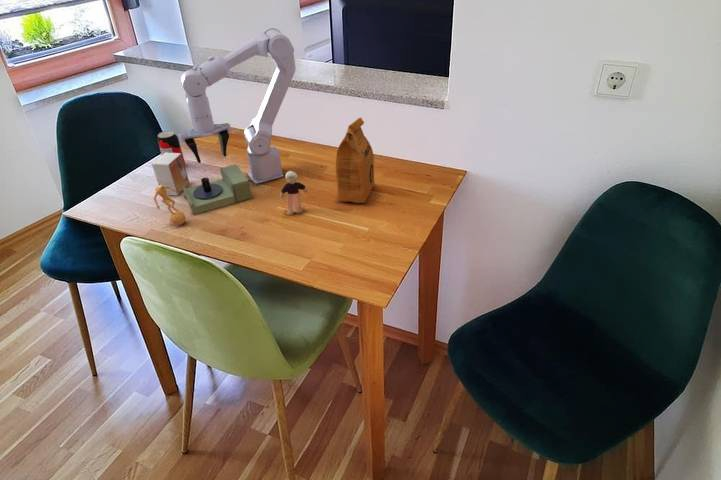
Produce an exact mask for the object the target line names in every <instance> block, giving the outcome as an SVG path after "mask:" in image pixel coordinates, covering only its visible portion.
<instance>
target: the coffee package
mask: <svg viewBox="0 0 721 480" xmlns="http://www.w3.org/2000/svg"><path fill="white" fill-rule="evenodd" d="M364 124H365V121H364V120H363V118H362V117H358V118H357V119H355V120H354V121H353V122H352V123H350V124H349V125H348V127H347V130H346V133H345V135H344V137H343V139H342V140H341V141H340V144H339V145H338V147H337V150H336V157H335V177H336V187H337V195H338V197H337V198H338V201H339V202H340V203H341V202H345V203H346V202H351V203H355V204H362V203H363V204H364V203H366V201H367V200H368V198H369V196H370V194H371V192H372V190H373V188H374V186H375V169H374V167H375V154H374V151H373V148H372V145H371V143H370V142H369V140H368V139H367V137H366V136H365V134H364V132H363V129H362V127H363V125H364Z"/></svg>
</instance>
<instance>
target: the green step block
mask: <svg viewBox="0 0 721 480" xmlns="http://www.w3.org/2000/svg"><path fill="white" fill-rule="evenodd" d="M219 169H220V174H221V177H222V178H220V179H217V180H213V181H209V182H210V184H218V185H220V186H221V187H222V189H223V191H222V193H221V194H220V195H219V196H217V197H215V198H212V199H208V200H200V199H196V198H195V197H194V195H193V192H194V190H195V189H196V188H198V187H200V186H202V184H199V185H193V186H191V187H188V188H187V187H186V188H185V186H183V190H182V191H183V193H184V197H185V198H187V201H188V202H189V205H190V207H191V209H192V213H193V215H198V214H201V213H204V212H208V211H212V210H215V209H219V208H221V207H226V206H229V205H233V204H235V203H240V202H244V201H246V200H250V199H252V198H253V197H252V192H251V187H250V183H249V179H248V178H247V176H246V175H245V174H244V172H242V170H241V169H240V167H239V166H238V165H237V163H235V164H232V165H227V166H224V167H221V168H219Z"/></svg>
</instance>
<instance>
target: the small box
mask: <svg viewBox="0 0 721 480" xmlns="http://www.w3.org/2000/svg"><path fill="white" fill-rule="evenodd" d="M182 154H183V153H182ZM182 154H181V153H164V154H163V155H162V154H161V156H159V157H158V158H157V159H156V160H155V161H154V162H152V163H151V166H152V170H153V172H154V175H155V178H156V181H157V184H158V186H161V185H163V186H169V187H170V188H172V189H174V190H175V191H176V192H177V193H178V194H177V193H176V192H174V191H172V190H171V189H169V188H167V189H166V191H167V195H169V196H179V195H180V194H181V193H182V192H183V191H184V190H183V186H185V188H186V189H187V187H188V186H189V185H190V179H189V176H188V172H187V169H186V163H185V164H184V161H185V160H184V161H183V157H184V156H183V157H182Z"/></svg>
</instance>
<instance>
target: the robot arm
mask: <svg viewBox="0 0 721 480" xmlns="http://www.w3.org/2000/svg"><path fill="white" fill-rule="evenodd" d="M269 55H270V56H271V58H272V62H273V63H274V65H275V70H274V73H273V75H272V78H271V80H270V83H269V86H268V87H267V90H266V93H265V95H264V98H263V100H262V103H261V105H260V107H259V110H258V112H257V114H256V116H255V118H253V119H252V120H251V123H250V125H249V126H247V127H246V128H245V129H244V133H243V137H244V140H245V142H246V143H247V149H246V154H247V159H248V164H249V169H250V171H249V172H247V176H248V177H249V178H250V179H251V181H252V182H253V183H254V184H255V185H259V184H261V183H265V182H269V181H273V180H276V179H279V178H283V177H284V174H283V167H282V160H281V156H280V152H279V150H278V148H277V147H276V146H271V138H272V137H273V136H272V135H273V125H274V124H275V120H276V118H277V116H278V114H279V111H280V108H281V106H282V104H283V101H284V99H285V97H286V94H287V92H288V89H289V87H290V86H291V85H290V84H291V82H292V80H293V78H294V75H295V73H296V69H297V68H296V61H295V47H294V46H293V44H292V42H291V40H290V39H289V37H287V36H286V35H284V34H283V33H282V32H281V31H280V30H279V29H278V28H276V27H270V28H268V29H266V30H265V31H264V32H263V31H262V32H260V33H259V32H258V33H257V34H256V35H255V36H253V37H252V38H251V39H249V40H248V41H246V42H244V43H243V44H241V45H239V46H238V47H237V48H235V49H233V50H232V51H230V52H229V53H227V54H226V55H225V56H221V55H214V56H213V55H210V56H208V57H207V59H208V60H206V61H205V62H203V63H201V64H199V65H198V66H197V65H194V66H193V67H192V69H187V70H186V71H184V72H183V73H182V75H181V80H180V83H181V85H182V87H183V90H184V92H185V95H184V96H185V98H186V104H187V107H188V111H189V115H190V120H191V123H192V126H193V129H190V130H188V131H185V132H182V133H178V139H179V142H180V143H181V144H182V143H185V144H186V146H187V148H189V149H190V150H191V152H192V153H193V155H194V157H195V160H196V162H197V163H198V164H201V163H202V162H201V158H200V155H199V151H198V146H197V143H196V139H200V138H204V137H205V138H209V137H212V136H213V135H216V134H217V138H218V141H219V144H220V150H221V151H220V152H221V154H222V156H223V157H227V147H228V143H229V139H230V133H229V132H232V127H231V124H230V123H229V122H225V123H217V124H215V123H214V119H213V114H212V110H211V106H210V101H209V97H208V96H207V92H206V90H207V88H209V87H211V86H213V85H215V84H216V83H218V82H219V81H222V80H223V79H224V78H226V77H228V76H229V75H230V72H231V69H232V68H234V67H236V66H238V65H240V64H242V63H244V62H246V61H247V60H250V59H251V58H253V57H255V56H260V57H266V58H268V57H269Z"/></svg>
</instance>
